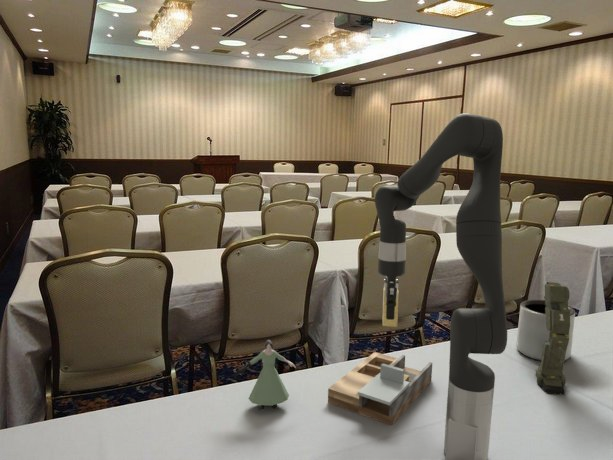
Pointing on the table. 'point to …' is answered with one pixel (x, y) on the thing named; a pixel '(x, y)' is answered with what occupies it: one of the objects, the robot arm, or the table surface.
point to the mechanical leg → (554, 339)
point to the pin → (394, 321)
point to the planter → (537, 329)
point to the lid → (385, 385)
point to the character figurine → (267, 379)
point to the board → (378, 406)
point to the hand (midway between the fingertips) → (389, 316)
